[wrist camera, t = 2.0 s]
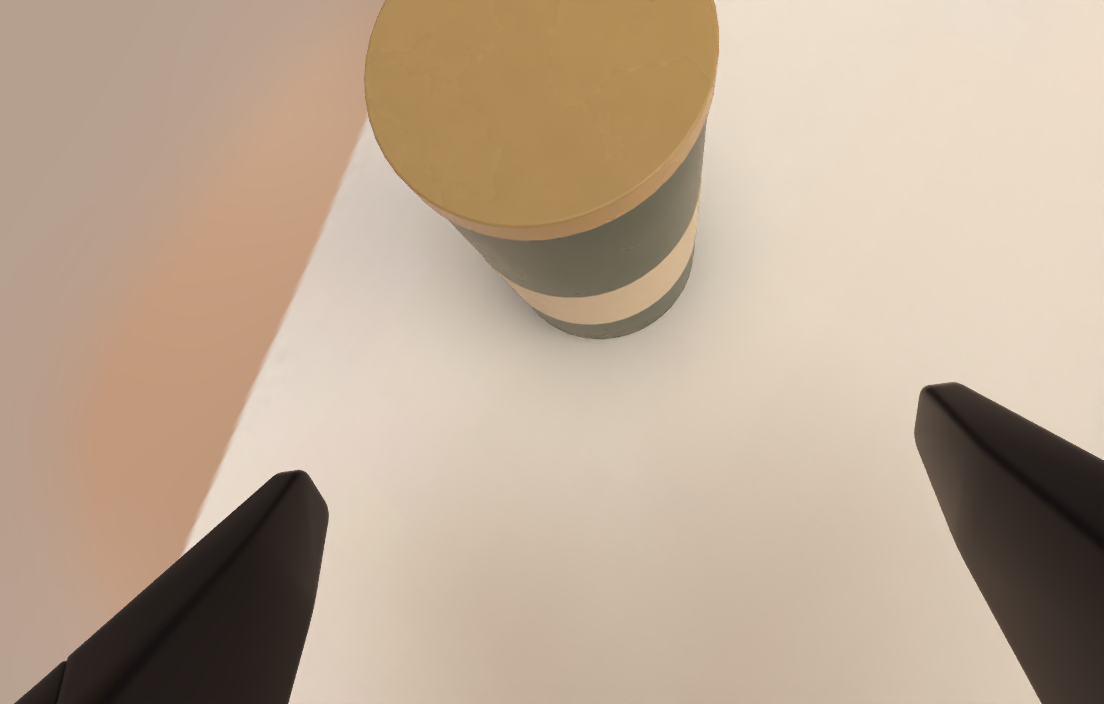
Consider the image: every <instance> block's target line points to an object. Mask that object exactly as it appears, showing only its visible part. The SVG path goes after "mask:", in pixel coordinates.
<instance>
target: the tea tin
mask: <svg viewBox="0 0 1104 704" xmlns="http://www.w3.org/2000/svg"><path fill="white" fill-rule="evenodd" d="M718 56H719V26H718V19H717V13H716V6H715V3H714V0H385V3H384V5H383V7H382V9H381V11H380V13H379V15H378V17H377V20H376V23H375V26H374V29H373V31H372V34H371V37H370V42H369V46H368V51H367V56H366V65H365V77H364V78H365V79H364V81H365V99H366V105H367V111H368V116H369V121H370V124H371V127H372V129H373V132H374V135H375V138H376V141H377V143H378V145H379V146H380V148H381V150H382V152H383V154H384V156H385V158H386V159H387V161H388V162H389V164H390V165H391V166H392V168H393V169H394V171H395V172H396V173H397V175H398V176H399V177H400V178H401V179H402V180H403V181H404V182H405V183H406V184H407V185H408V186H409V187H410V188H411V189H412V190H413V191H414V192H415V193H416V194H417V195H418V196H419V197H420V198H421V199H422V200H423V201H424V202H425V203H426V204H427V205H428V206H430V207H431V208H432V209H434V210H435V211H436V212H437V213H439V214H440V215H441V216H443V217H445V218H447V219H448V220H449V221H450V222H451V223H452V224H453V225H454V226H455V227H456V229H457V230H458V231H459V232H460V233H461V234H462V235H463V236H464V237H465V238H466V239H467V240H468V241H469V242H470V243H471V244H472V245H473V246H474V247H475V248H476V249H477V250H478V251H479V252H480V254H481V255H482V256H483V257H484V258H485V260H486V261H487V262H488V263H489V264H490V265H491V266H492V267H493V268H494V269H495V270H496V271H497V272H498V273H499V274H500V275H501V276H502V277H503V278H504V279H505V280H506V282H507V283H508V284H509V285H510V286H511V287H512V288H513V289H514V290H515V291H516V292H517V293H518V294H519V295H520V296H521V297H522V298H523V299H524V300H525V301H526V302H528V303H529V305H530V306H531V307H532V308H533V309H534V310H535V311H536V312H537V313H538V314H539V315H540V316H541V317H542V318H543V319H545V320H546V321H547V322H549V323H550V324H551V325H553V326H555V327H557V328H558V329H560V330H562V331H565V332H567V333H570V334H573V335H576V336H580V337H585V338H593V339H607V338H615V337H620V336H624V335H628V334H631V333H633V332H636V331H638V330H641V329H643V328H644V327H646V326H648V325H650V324H651V323H653V322H654V321H656V320H657V319H658V318H660V317H661V316H662V315H663V314H664V313H665V312H666V311H667V310H668V309H669V308H670V307H671V306H672V305H673V303H674V302H675V301H676V300H677V298H678V297H679V295H680V294H681V292H682V290H683V289H684V287H685V284H686V282H687V280H688V277H689V274H690V271H691V267H692V262H693V254H694V244H695V237H696V230H697V220H698V210H699V200H700V190H701V172H702V162H703V152H704V141H705V131H706V121H707V116H708V112H709V109H710V105H711V102H712V99H713V95H714V88H715V81H716V74H717V65H718Z"/></svg>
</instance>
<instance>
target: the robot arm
mask: <svg viewBox="0 0 1104 704" xmlns="http://www.w3.org/2000/svg"><path fill="white" fill-rule="evenodd" d="M914 435H915V442H916V446H917V449H918V451H919V454H920V456H921V459H922V461H923V464H924V466H925V469H926V471H927V474H928V476H929V479H930V481H931V484H932V486H933V489H934V491H935V494H936V496H937V499H938V501H939V504H940V506H941V509H942V511H943V514H944V516H945V519H946V521H947V524H948V526H949V529H950V531H951V534H952V536H953V538H954V541H955V543H956V545H957V548H958V550H959V552H960V554H961V556H962V558H963V559H964V561H965V563H966V565H967V567H968V569H969V571H970V573H971V575H972V576H973V578H974V580H975V582H976V584H977V586H978V587H979V589H980V591H981V593H982V595H983V597H984V598H985V600H986V602H987V604H988V606H989V608H990V609H991V611H992V613H993V615H994V617H995V619H996V620H997V622H998V624H999V626H1000V628H1001V630H1002V632H1003V633H1004V635H1005V637H1006V639H1007V641H1008V643H1009V644H1010V646H1011V648H1012V650H1013V652H1014V654H1015V655H1016V657H1017V659H1018V661H1019V663H1020V665H1021V666H1022V668H1023V670H1024V672H1025V674H1026V676H1027V678H1028V679H1029V681H1030V683H1031V685H1032V687H1033V689H1034V690H1035V692H1036V694H1037V696H1038V698H1039V700H1040V701H1041V703H1042V704H1104V460H1102V459H1100V458H1098V457H1096V456H1094V455H1093V454H1091V453H1089V452H1087V451H1085V450H1083V449H1081V448H1079V447H1078V446H1076V445H1074V444H1072V443H1070V442H1068V441H1066V440H1065V439H1063V438H1061V437H1059V436H1057V435H1055V434H1053V433H1052V432H1050V431H1048V430H1046V429H1044V428H1042V427H1040V426H1038V425H1037V424H1035V423H1033V422H1031V421H1029V420H1027V419H1025V418H1024V417H1022V416H1020V415H1018V414H1016V413H1014V412H1012V411H1011V410H1009V409H1007V408H1005V407H1003V406H1001V405H999V404H997V403H996V402H994V401H992V400H990V399H988V398H986V397H984V396H983V395H981V394H979V393H977V392H975V391H973V390H971V389H970V388H968V387H966V386H964V385H962V384H959V383H956V382H949V383H942V384H934V385H928V386H925V387H924V388H923V389H922V390H921V392H920V396H919V402H918V409H917V416H916V422H915V430H914ZM328 519H329V512H328V507H327V504H326V502H325V500H324V499H323V497H322V496H321V494H320V492H319V491H318V489H317V488H316V486H315V484H314V483H313V481H312V480H311V478H310V476H309V475H308V474H307V473H306V472H304V471H302V470H295V471H287V472H281V473H278V474H276V475H274V476H273V477H272V478H271V479H270V480H268V481H267V482H266V483H265V484H264V485H263V486H262V487H261V488H259V489H258V490H257V491H256V492H255V493H254V494H253V495H251V496H250V497H249V498H248V499H247V500H246V501H245V502H243V503H242V504H241V505H240V506H239V507H238V508H237V509H236V510H234V511H233V512H232V513H231V514H230V515H229V516H228V517H226V518H225V519H224V520H223V521H222V522H221V523H220V524H218V525H217V526H216V527H215V528H214V529H213V530H212V531H211V532H209V533H208V534H207V535H206V536H205V537H204V538H203V539H201V540H200V541H199V542H198V543H197V544H196V545H195V546H193V547H192V548H191V549H190V550H189V551H188V552H187V553H185V554H184V555H183V556H182V557H181V558H180V559H179V560H178V561H176V562H175V563H174V564H173V565H172V566H171V567H170V568H168V569H167V570H166V571H165V572H164V573H163V574H162V575H160V576H159V577H158V578H157V579H156V580H155V581H154V582H153V583H151V584H150V585H149V586H148V587H147V588H146V589H145V590H143V591H142V592H141V593H140V594H139V595H138V596H137V597H135V598H134V599H133V600H132V601H131V602H130V603H129V604H128V605H126V606H125V607H124V608H123V609H122V610H121V611H120V612H118V613H117V614H116V615H115V616H114V617H113V618H112V619H110V620H109V621H108V622H107V623H106V624H105V625H104V626H102V627H101V628H100V629H99V630H98V631H97V632H96V633H95V634H93V635H92V636H91V637H90V638H89V639H88V640H87V641H85V642H84V644H82V645H81V646H80V647H79V648H77V649H76V650H75V651H74V652H73V653H72V654H71V655H70V656H69V657H68V659H67V661H63V662H61V663H60V664H59V665H58V666H57V667H56V668H55V669H53V670H52V671H51V672H50V673H49V674H48V675H47V676H46V677H44V678H43V679H42V680H41V681H40V682H39V683H38V684H37V685H35V686H34V687H33V688H32V689H31V690H30V691H28V692H27V693H26V694H25V695H24V696H23V697H21V698H20V699H19V700H18V701H17V702H16V703H14V704H288V702H289V699H290V695H291V691H292V688H293V684H294V680H295V677H296V673H297V669H298V666H299V662H300V658H301V655H302V651H303V647H304V644H305V640H306V636H307V633H308V629H309V625H310V621H311V617H312V613H313V609H314V604H315V599H316V593H317V587H318V581H319V575H320V569H321V563H322V556H323V550H324V544H325V538H326V532H327V526H328Z"/></svg>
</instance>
